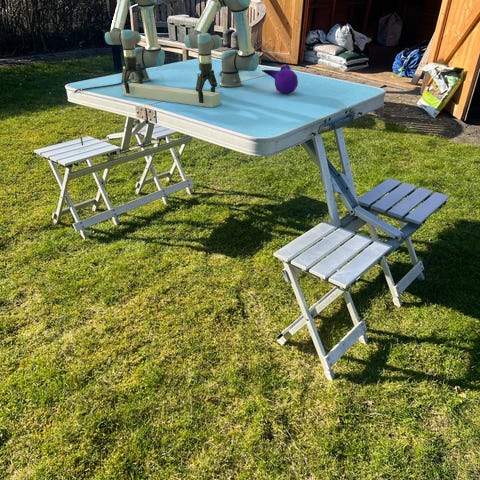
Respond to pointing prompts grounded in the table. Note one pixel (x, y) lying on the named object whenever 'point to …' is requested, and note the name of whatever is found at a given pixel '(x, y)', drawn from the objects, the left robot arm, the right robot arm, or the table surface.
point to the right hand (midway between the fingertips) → (207, 100)
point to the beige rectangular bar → (172, 94)
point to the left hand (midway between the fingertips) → (134, 91)
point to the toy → (284, 79)
